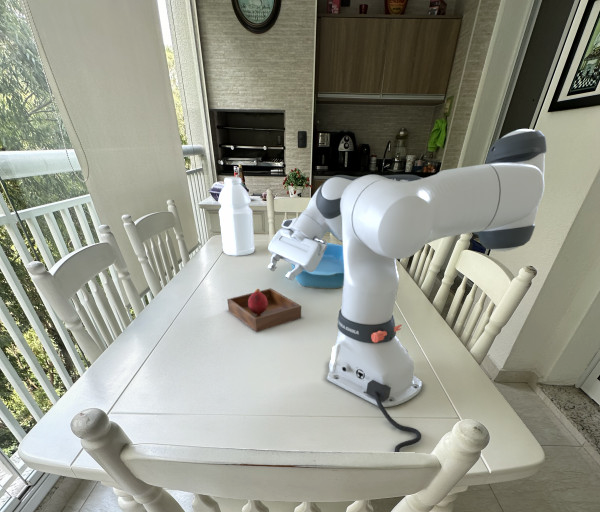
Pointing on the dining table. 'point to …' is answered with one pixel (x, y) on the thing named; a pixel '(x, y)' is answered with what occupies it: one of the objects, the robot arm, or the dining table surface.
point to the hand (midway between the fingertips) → (279, 274)
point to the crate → (274, 315)
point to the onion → (257, 302)
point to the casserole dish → (325, 270)
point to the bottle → (236, 218)
